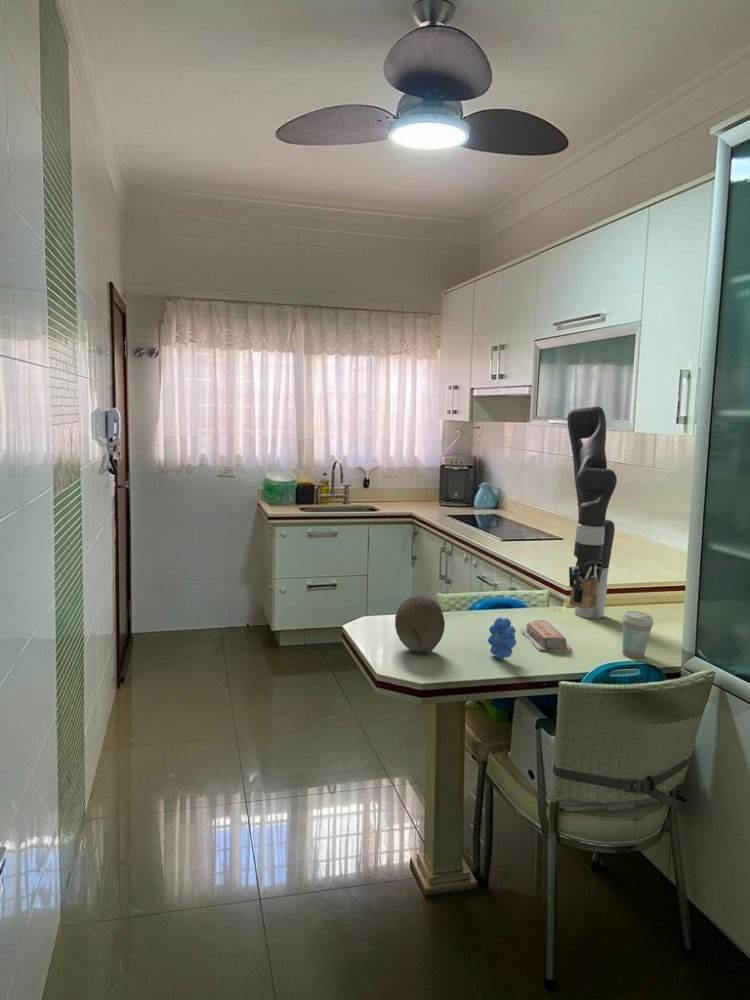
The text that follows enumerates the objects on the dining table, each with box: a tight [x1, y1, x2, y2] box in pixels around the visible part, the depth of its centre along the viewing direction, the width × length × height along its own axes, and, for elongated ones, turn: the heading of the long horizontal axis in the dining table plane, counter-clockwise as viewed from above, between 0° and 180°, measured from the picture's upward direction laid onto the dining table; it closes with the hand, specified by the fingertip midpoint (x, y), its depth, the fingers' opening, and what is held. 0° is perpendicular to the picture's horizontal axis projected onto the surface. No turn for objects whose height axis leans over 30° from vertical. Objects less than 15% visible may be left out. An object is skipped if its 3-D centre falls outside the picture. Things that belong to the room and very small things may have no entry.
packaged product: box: [520, 619, 573, 653], centre depth 216 cm, size 18×5×10 cm
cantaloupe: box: [394, 595, 446, 654], centre depth 200 cm, size 14×14×15 cm
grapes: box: [487, 617, 517, 661], centre depth 198 cm, size 12×7×12 cm, turn 23°
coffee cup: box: [621, 610, 654, 660], centre depth 209 cm, size 9×8×12 cm
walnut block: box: [569, 577, 599, 609], centre depth 202 cm, size 5×5×8 cm
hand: (582, 600), depth 202 cm, fingers closed on walnut block, 5 cm apart
